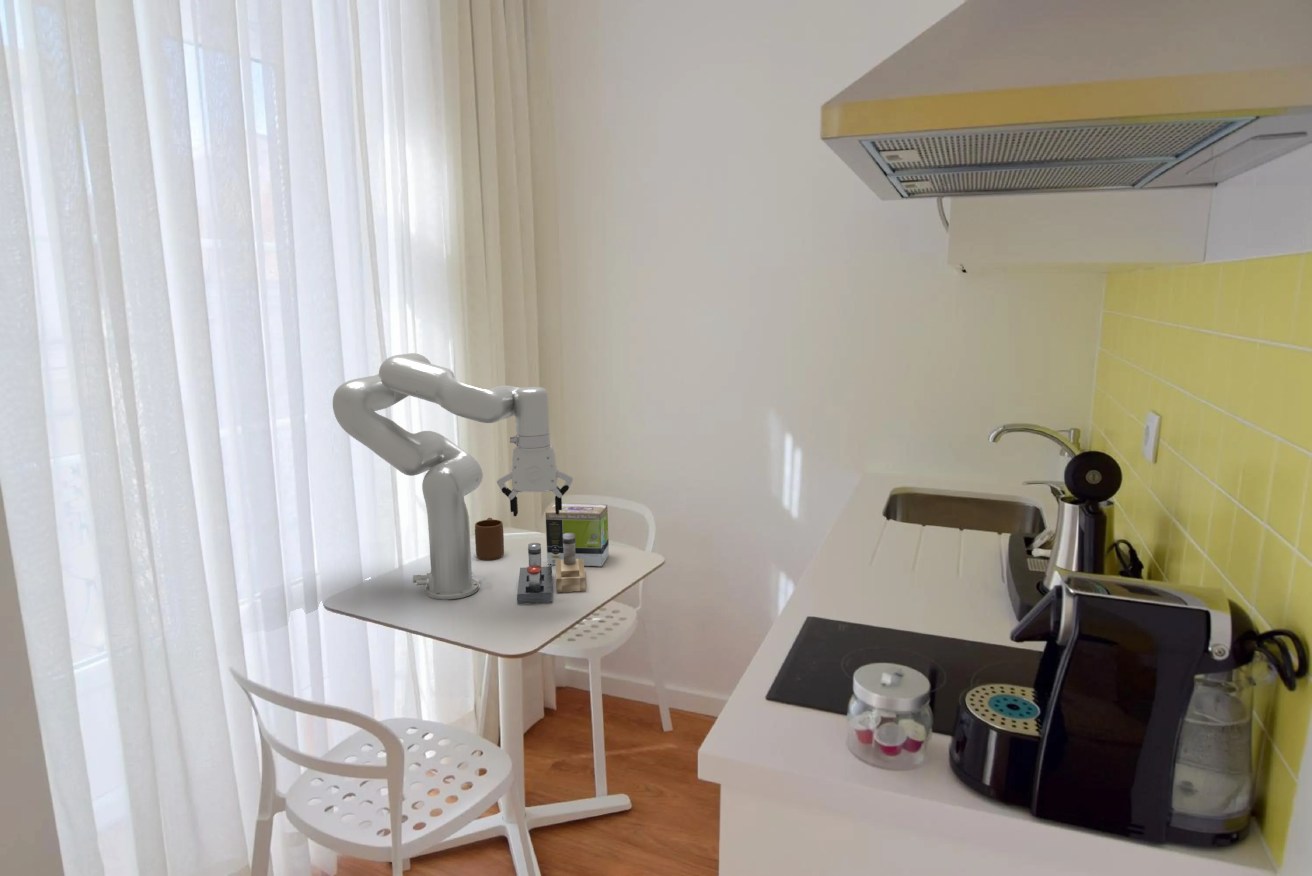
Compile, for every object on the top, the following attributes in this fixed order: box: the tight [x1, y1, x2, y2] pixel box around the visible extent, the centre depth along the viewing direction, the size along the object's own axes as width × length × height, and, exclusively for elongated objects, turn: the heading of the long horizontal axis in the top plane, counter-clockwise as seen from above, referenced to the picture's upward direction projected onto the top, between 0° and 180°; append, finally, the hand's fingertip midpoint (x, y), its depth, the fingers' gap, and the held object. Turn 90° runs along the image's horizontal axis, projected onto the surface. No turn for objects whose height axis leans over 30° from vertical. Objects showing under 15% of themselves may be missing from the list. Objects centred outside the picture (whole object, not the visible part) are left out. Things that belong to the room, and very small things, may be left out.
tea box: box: [545, 503, 610, 567], centre depth 211 cm, size 15×10×15 cm
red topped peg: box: [526, 565, 542, 591], centre depth 184 cm, size 3×3×5 cm
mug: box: [474, 517, 505, 561], centre depth 217 cm, size 12×8×9 cm, turn 10°
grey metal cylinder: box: [527, 542, 542, 581], centre depth 191 cm, size 3×3×11 cm
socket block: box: [516, 565, 553, 605], centre depth 191 cm, size 8×18×2 cm, turn 7°
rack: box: [555, 533, 587, 593], centre depth 195 cm, size 7×14×11 cm, turn 7°
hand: (536, 514), depth 182 cm, fingers open, 9 cm apart
